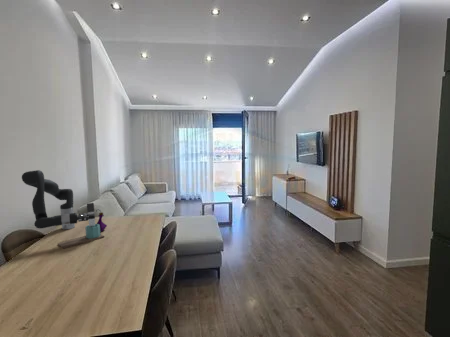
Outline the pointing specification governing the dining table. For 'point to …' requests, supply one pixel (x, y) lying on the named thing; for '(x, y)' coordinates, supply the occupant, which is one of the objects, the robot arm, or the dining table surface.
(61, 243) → the walnut board
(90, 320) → the dining table surface
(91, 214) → the grey long forked bar
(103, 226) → the perfume bottle
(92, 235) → the crock
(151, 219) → the dining table surface
